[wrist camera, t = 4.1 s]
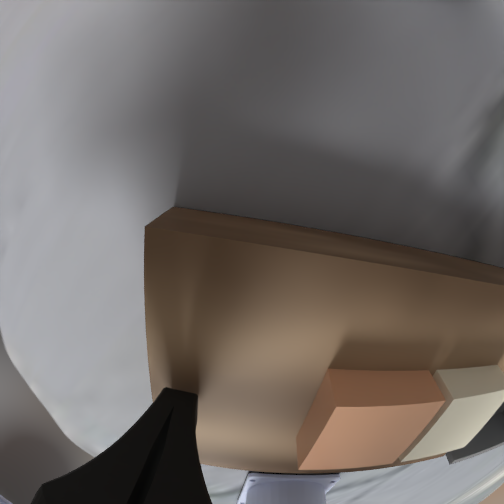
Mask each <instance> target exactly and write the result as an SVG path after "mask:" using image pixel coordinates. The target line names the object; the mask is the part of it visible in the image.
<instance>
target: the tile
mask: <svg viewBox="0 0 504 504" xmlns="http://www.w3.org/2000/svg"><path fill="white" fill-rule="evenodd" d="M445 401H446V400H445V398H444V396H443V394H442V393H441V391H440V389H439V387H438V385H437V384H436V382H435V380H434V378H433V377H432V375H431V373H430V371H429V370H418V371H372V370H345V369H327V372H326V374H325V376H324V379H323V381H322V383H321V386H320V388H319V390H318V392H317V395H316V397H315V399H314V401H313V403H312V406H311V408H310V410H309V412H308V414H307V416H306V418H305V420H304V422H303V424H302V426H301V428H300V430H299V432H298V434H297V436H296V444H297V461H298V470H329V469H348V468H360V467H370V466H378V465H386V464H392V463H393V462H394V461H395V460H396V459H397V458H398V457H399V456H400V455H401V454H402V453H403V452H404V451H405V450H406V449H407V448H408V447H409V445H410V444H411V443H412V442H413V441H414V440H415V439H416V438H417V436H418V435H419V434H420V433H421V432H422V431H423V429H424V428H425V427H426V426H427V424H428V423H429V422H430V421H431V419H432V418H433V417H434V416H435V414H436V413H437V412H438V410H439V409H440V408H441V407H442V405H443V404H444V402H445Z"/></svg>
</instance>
